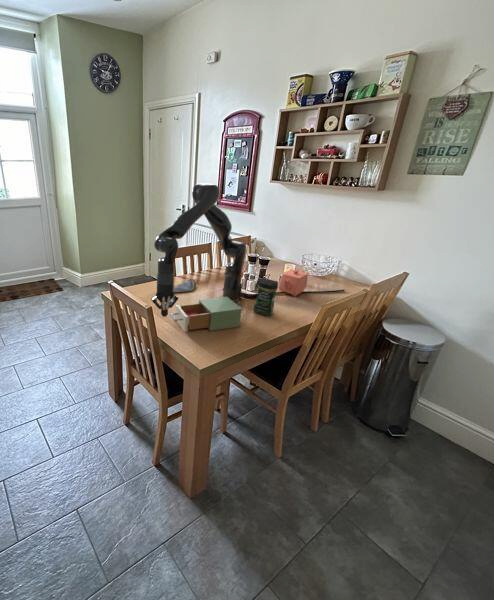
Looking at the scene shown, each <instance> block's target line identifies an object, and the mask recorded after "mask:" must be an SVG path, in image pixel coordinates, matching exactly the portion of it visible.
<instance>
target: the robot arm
mask: <svg viewBox="0 0 494 600" xmlns="http://www.w3.org/2000/svg"><path fill="white" fill-rule="evenodd" d="M220 192H221V191H220V188H219V186H218V185H216V184H215V183H204V182H202V183H196V184H195V185H194V186H193V187H192V191H191V196H192V199H193V201H194V203H195V205H194V206H191V208H189V209H187V210H185V211H184V212H182V213H181V214H180V215H179V216H178V217H177V218H176V219H175V220H174V222H173V223H171V225H170V226H169V227H168V228H166V229H165V230H163V231H162V232H160V233H159V234H158V236H157V237H156V238H155V240H154V243H153V246H154V249H155V250H156V251H157V252H160V253H163V254H164V256H163V257H160V258H159V259H158V260H157V274H156V293H155V296H154V297H151V298H150V300H151V302H152V303H153V304H154V305H155V307H156V308H158V309H159V310H160V315H161V316H162V317H163V318H165V317H167V316H168V315H169V309H172V308H173V307H174V306H175V305H176V303H177V301H178V300H179V297H178V296H177V295H175V293H174V292H173V289H174V286H175V274H174V273H175V271H174V269H175V262H176V259H177V255H178V251H179V242H178V240H181V239H182V238H184V237H185V236H186V234H187V233H188V231H189V230H190V229H191V228H192V226H193V225H194V224H195V223H196V222H197V221H198V220H199V219H200V218H202V216H204V217H205V218H206V220H207V222H208V223H209V225H210V227H211V229H212V230H213V233H214V234H215V236H216V237H217V239H218V241H219V243H220V245H221V248H222V251H223V253H224V254H225V256H226V257H228V258H231V259H234V260H233V262H228V263H227V264H225V272H224V279H223V288H222V297H228V298H229V299H230V300H232V301H233V302H238V301H239V300H241V298H242V297H243V296H245V297H246V298H253V297H257V295H258V293H254V294H251V295H248V294H247V293H246V292H243V291H242V288H243V283H242V277H243V268H244V266H245V262H246V257H247V249H248V248H247V244H246V243H245V242H242V241H237V240H234V239H233V238H232V237H231V233H232V229H233V226H232V223H231V220H230V218H229V217H228V215H227V213H225V211H223V210H222V209H220V208H219V207H218V205H216V203H217V202H219V201H218V200H219V199H220V194H221V193H220ZM339 292H345V289H337V290H315V291H313V290H312V291H310V290H309V291H303V292H301V293H300V294H323V293H324V294H325V293H339ZM277 294H279V295H280V294H288V293H287V292H281V291H276V293H275V295H277ZM158 301H159V302H160V304H159V302H158Z"/></svg>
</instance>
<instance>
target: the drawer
mask: <svg viewBox="0 0 494 600" xmlns="http://www.w3.org/2000/svg"><path fill="white" fill-rule="evenodd" d="M191 310H195V311H196V312H197V315H190V318H189V325H188V316H187V315H186V314H185V312H184V311H191ZM174 311H175V312H170V313H169V316H170V317H171V319H172V320H173V321H174V322H175V323H178V325H179V326H180V327H181V329H182V331H183V332H184V333H187V332H188V330H189V331H191V330H192V331H193V330H199V329H208V328H207V327H210V318H211V313H210V312H209V311H208V310H207V309H206V308H205V307H204V306H203V305H202V304H201V303H199V302H197V303H189V304H188V303H187V304H181V305H179V304H175V310H174Z"/></svg>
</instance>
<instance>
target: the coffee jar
mask: <svg viewBox="0 0 494 600" xmlns="http://www.w3.org/2000/svg"><path fill="white" fill-rule="evenodd" d="M278 290H279V282H278V280H273V279H270V278H265V277H261V278H260V279H259V280H258V283H257V294H258V295H256V299H255V303H254V306H253V311H254V312H255V313H256V314H260V315H262V316H265V317H267V316H271V315H272V314H273V313H274V308H275V300H276V299H275V298H276V294H275V293H276V292H278Z"/></svg>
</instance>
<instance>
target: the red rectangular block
mask: <svg viewBox="0 0 494 600" xmlns="http://www.w3.org/2000/svg"><path fill="white" fill-rule="evenodd" d="M184 312H185V314H186V315H187V316H188V325H189V318H190V315H197V312H196V311H195V310H191V311H184Z"/></svg>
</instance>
